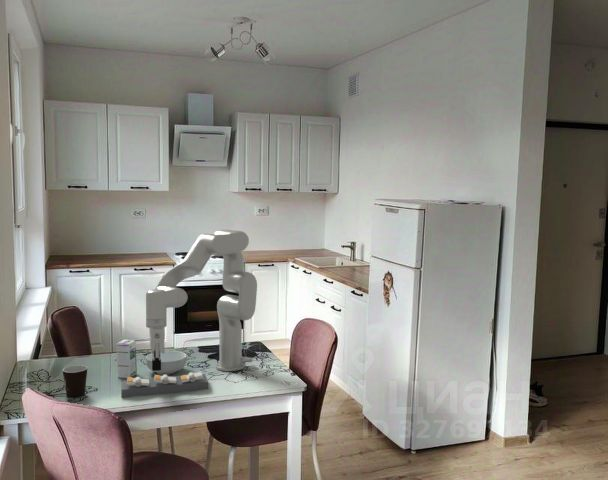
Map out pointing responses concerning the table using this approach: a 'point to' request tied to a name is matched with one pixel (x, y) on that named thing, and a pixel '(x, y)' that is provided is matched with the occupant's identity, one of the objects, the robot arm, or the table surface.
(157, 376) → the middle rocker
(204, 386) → the switch panel
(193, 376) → the rocker
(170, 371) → the cereal bowl
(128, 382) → the rocker
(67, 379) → the coffee mug
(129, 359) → the syrup box
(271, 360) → the table surface
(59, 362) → the table surface
